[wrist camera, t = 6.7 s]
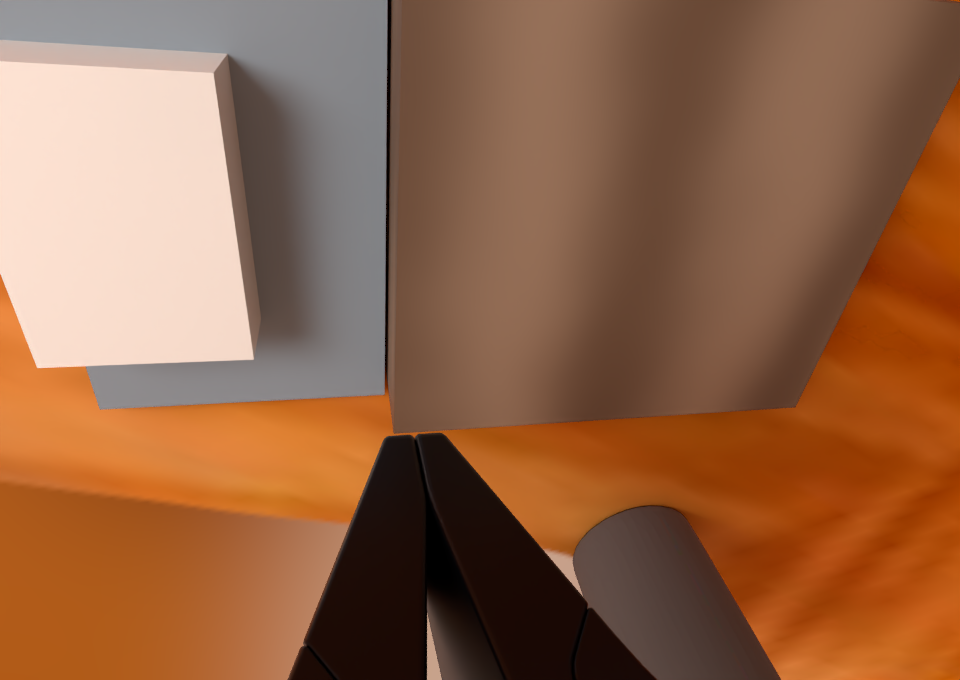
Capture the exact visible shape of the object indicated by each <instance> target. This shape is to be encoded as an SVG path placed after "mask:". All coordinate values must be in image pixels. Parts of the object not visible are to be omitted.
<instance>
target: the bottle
mask: <svg viewBox="0 0 960 680" xmlns="http://www.w3.org/2000/svg"><path fill="white" fill-rule="evenodd" d="M573 566H574V571H575V574H576V576H577V580H578V583H579V585H580V588H581V591H582V594H583V597H584V599H585V600H586V601H587V602H588V608H593V609H594V610H595V611H596V612H597V614H598V615H599V616H600V617H601V618H602V619H603V621H604V622H605V623H606V624H607V625H608V627H609V628H610V629H611V630H612V631H613V632H614V633H615V635H616V636H617V637H618V638H619V639H620V640H621V641H622V642H623V643H624V645H625V646H626V647H627V648H628V649H629V650H630V651H631V652H632V654H633V655H634V656H635V657H636V658H637V659H638V660H639V661H640V662H641V664H642V665H643V666H644V667H645V668H646V669H647V670H648V671H649V672H650V673H651V674H652V675H653V676H654V677H655V678H656V679H657V680H781V679H780V677H779V675H778V674H777V672H776V670H775V668H774V667H773V665H772V663H771V662H770V660H769V658H768V656H767V655H766V653H765V651H764V649H763V648H762V646H761V644H760V643H759V641H758V639H757V637H756V636H755V634H754V632H753V630H752V629H751V627H750V625H749V624H748V622H747V620H746V618H745V617H744V615H743V613H742V612H741V610H740V608H739V606H738V605H737V603H736V601H735V600H734V598H733V596H732V595H731V593H730V591H729V589H728V588H727V586H726V584H725V583H724V581H723V579H722V577H721V576H720V574H719V572H718V571H717V569H716V567H715V566H714V564H713V562H712V560H711V559H710V557H709V555H708V554H707V552H706V550H705V549H704V547H703V545H702V543H701V542H700V540H699V538H698V537H697V535H696V533H695V532H694V530H693V529H692V527H691V526H690V524H689V522H688V521H687V519H686V518H685V517H684V516H683V515H682V514H681V513H679V512H678V511H676V510H673V509H671V508H667V507H663V506H645V507H637V508H633V509H630V510H626V511H623V512H621V513H618V514H616V515H613V516H611V517H609V518H608V519H606V520H604V521H602V522H601V523H599V524H598V525H597V526H595V527H594V528H592V529H591V530H590V531H589V532H588V533H587V534H586V535H585V536H584V537H583V538H582V540H581V541H580V542H579V544H578V545H577V547H576V550H575V553H574V556H573Z"/></svg>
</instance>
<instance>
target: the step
mask: <svg viewBox="0 0 960 680" xmlns="http://www.w3.org/2000/svg"><path fill="white" fill-rule="evenodd" d="M959 78H960V2H956V1H949V0H390V47H389V152H388V258H387V363H386V372H387V380H388V389H389V398H390V406H391V415H392V423H393V432H394V434H395V433H410V432H425V431H441V430H456V429H471V428H486V427H502V426H517V425H532V424H548V423H563V422H578V421H593V420H609V419H624V418H639V417H654V416H670V415H685V414H700V413H716V412H731V411H746V410H761V409H777V408H792V407H796V405H797V403H798V401H799V399H800V397H801V395H802V393H803V391H804V389H805V387H806V385H807V383H808V381H809V379H810V377H811V375H812V373H813V371H814V369H815V367H816V365H817V363H818V361H819V359H820V357H821V355H822V353H823V351H824V349H825V347H826V344H827V342H828V340H829V338H830V336H831V334H832V332H833V330H834V328H835V326H836V324H837V322H838V320H839V318H840V316H841V314H842V312H843V310H844V308H845V306H846V304H847V302H848V300H849V298H850V296H851V294H852V292H853V290H854V288H855V286H856V284H857V282H858V280H859V278H860V276H861V274H862V272H863V270H864V268H865V266H866V264H867V262H868V260H869V258H870V256H871V254H872V252H873V250H874V248H875V246H876V244H877V242H878V240H879V238H880V236H881V234H882V232H883V230H884V228H885V226H886V224H887V222H888V220H889V218H890V216H891V214H892V212H893V210H894V208H895V206H896V204H897V202H898V200H899V198H900V196H901V194H902V192H903V190H904V188H905V186H906V184H907V182H908V180H909V178H910V176H911V174H912V172H913V170H914V168H915V166H916V164H917V162H918V160H919V158H920V156H921V154H922V152H923V150H924V148H925V146H926V144H927V142H928V140H929V138H930V136H931V134H932V132H933V130H934V128H935V126H936V124H937V122H938V120H939V118H940V116H941V114H942V112H943V110H944V108H945V106H946V104H947V102H948V100H949V98H950V96H951V94H952V92H953V90H954V88H955V86H956V84H957V82H958V80H959Z"/></svg>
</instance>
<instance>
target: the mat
mask: <svg viewBox="0 0 960 680" xmlns="http://www.w3.org/2000/svg"><path fill="white" fill-rule="evenodd" d="M0 40H12V41H28V42H44V43H60V44H77V45H93V46H109V47H125V48H142V49H158V50H174V51H190V52H207V53H223V54H228V62H229V70H230V78H231V86H232V93H233V101H234V109H235V117H236V125H237V133H238V141H239V149H240V156H241V164H242V172H243V180H244V188H245V196H246V204H247V211H248V219H249V227H250V235H251V243H252V251H253V259H254V267H255V274H256V282H257V290H258V298H259V306H260V314H261V322H260V328H259V333H258V339H257V345H256V351H255V356H254V360H232V361H206V362H180V363H154V364H128V365H102V366H86V369H87V372H88V375H89V378H90V381H91V384H92V387H93V390H94V393H95V396H96V399H97V402H98V405H99V408H100V409H118V408H137V407H157V406H176V405H195V404H214V403H234V402H253V401H272V400H291V399H311V398H330V397H349V396H369V395H385V265H386V131H387V0H0Z"/></svg>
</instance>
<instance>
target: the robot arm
mask: <svg viewBox="0 0 960 680" xmlns="http://www.w3.org/2000/svg"><path fill="white" fill-rule="evenodd" d="M587 608H588V602H587V601H586V600H585V599H584V597H583V596H582V595H581V594H580V593H579V592H578V590H577V589H576V588H575V587H574V586H573V585H572V583H571V582H570V581H569V580H568V579H567V578H566V577H565V575H564V574H563V573H562V572H561V570H560V569H559V568H558V567H557V566H556V565H555V564H554V562H553V561H552V560H551V559H550V558H549V556H548V555H547V554H546V553H545V552H544V550H543V549H542V548H541V547H540V546H539V545H538V543H537V542H536V541H535V540H534V539H533V538H532V536H531V535H530V534H529V533H528V532H527V531H526V529H525V528H524V527H523V526H522V525H521V524H520V522H519V521H518V520H517V519H516V518H515V516H514V515H513V514H512V513H511V512H510V511H509V509H508V508H507V507H506V506H505V505H504V504H503V502H502V501H501V500H500V499H499V498H498V497H497V495H496V494H495V493H494V492H493V491H492V489H491V488H490V487H489V486H488V485H487V484H486V482H485V481H484V480H483V479H482V478H481V477H480V475H479V474H478V473H477V472H476V471H475V470H474V468H473V467H472V466H471V465H470V464H469V463H468V461H467V460H466V459H465V458H464V457H463V455H462V454H461V453H460V452H459V451H458V450H457V448H456V447H455V446H454V445H453V444H452V443H451V441H450V440H449V439H448V438H447V437H446V436H445V435H444V434H442V433H428V434H418V435H417V436H416V437H415V439H414V437H413V436H411V435H398V436H387V437H386V438H385V439H384V440H383V443H382V445H381V448H380V450H379V453H378V455H377V458H376V460H375V463H374V465H373V468H372V470H371V473H370V475H369V478H368V480H367V483H366V485H365V488H364V490H363V493H362V495H361V498H360V500H359V503H358V505H357V508H356V510H355V513H354V515H353V518H352V520H351V523H350V525H349V528H348V530H347V533H346V536H345V538H344V541H343V543H342V546H341V548H340V551H339V553H338V556H337V558H336V561H335V563H334V566H333V568H332V571H331V573H330V576H329V578H328V581H327V583H326V586H325V588H324V591H323V593H322V596H321V598H320V601H319V603H318V606H317V608H316V611H315V613H314V616H313V618H312V621H311V623H310V626H309V629H308V631H307V634H306V636H305V639H304V642H303V644H304V646H302V647H301V648H300V650H299V653H298V655H297V658H296V660H295V663H294V665H293V668H292V670H291V673H290V675H289V678H288V680H427V613H428V617H429V622H430V627H431V631H432V636H433V640H434V645H435V650H436V654H437V659H438V663H439V668H440V672H441V677H442V680H657V679H656V678H655V677H654V676H653V675H652V674H651V673H650V672H649V671H648V670H647V669H646V668H645V667H644V666H643V665H642V664H641V662H640V661H639V660H638V659H637V658H636V657H635V656H634V655H633V654H632V652H631V651H630V650H629V649H628V648H627V647H626V646H625V645H624V643H623V642H622V641H621V640H620V639H619V638H618V637H617V636H616V635H615V633H614V632H613V631H612V630H611V629H610V628H609V627H608V625H607V624H606V623H605V622H604V621H603V619H602V618H601V617H600V616H599V615H598V614H597V612H596V611H595V610H594V609H593V608H588V609H587Z"/></svg>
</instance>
